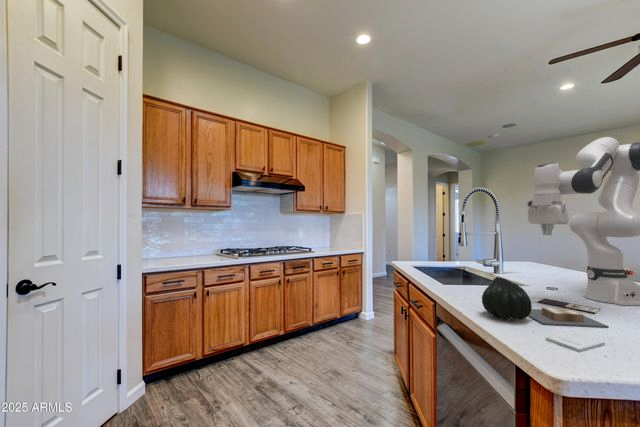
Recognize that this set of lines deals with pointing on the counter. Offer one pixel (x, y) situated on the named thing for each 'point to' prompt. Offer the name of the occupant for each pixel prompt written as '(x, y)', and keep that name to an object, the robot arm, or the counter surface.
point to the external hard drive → (575, 341)
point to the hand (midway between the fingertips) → (547, 235)
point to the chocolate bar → (569, 306)
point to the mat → (588, 322)
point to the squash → (506, 300)
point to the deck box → (562, 314)
